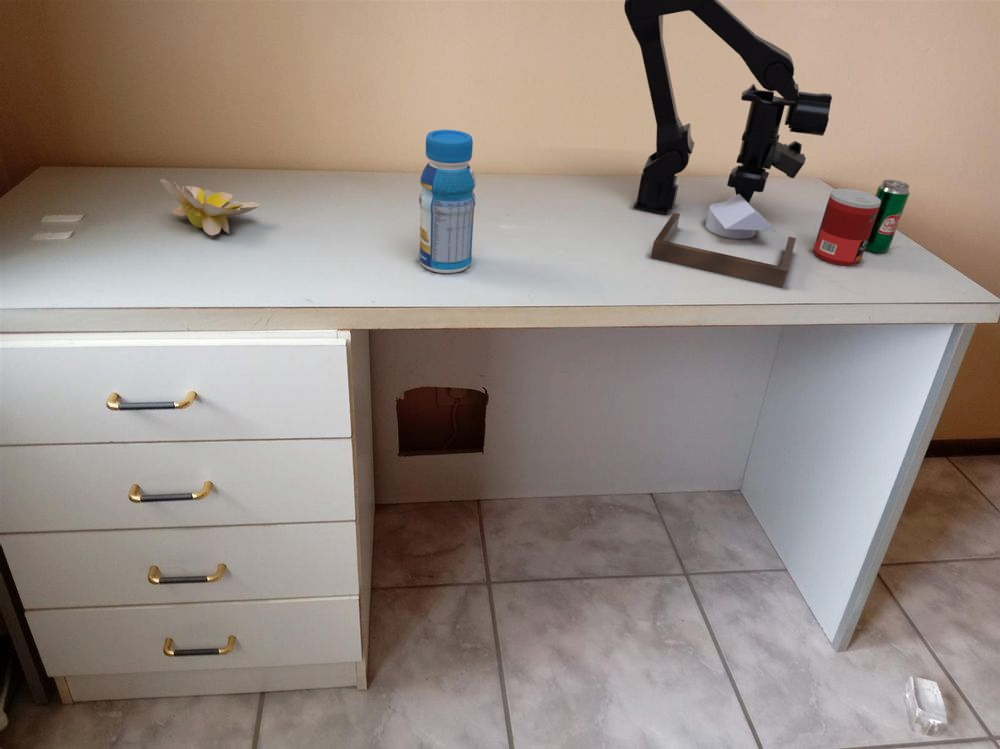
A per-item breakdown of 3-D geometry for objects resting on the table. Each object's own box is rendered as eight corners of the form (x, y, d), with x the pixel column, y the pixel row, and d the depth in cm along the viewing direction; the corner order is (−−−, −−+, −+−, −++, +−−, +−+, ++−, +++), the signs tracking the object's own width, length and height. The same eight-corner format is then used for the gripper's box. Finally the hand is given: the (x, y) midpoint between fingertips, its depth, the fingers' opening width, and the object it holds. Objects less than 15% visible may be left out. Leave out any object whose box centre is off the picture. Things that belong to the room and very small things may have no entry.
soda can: (874, 255, 137) (898, 190, 131) (852, 244, 141) (874, 180, 134) (894, 252, 139) (918, 187, 133) (871, 241, 143) (893, 177, 136)
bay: (650, 258, 129) (653, 241, 128) (670, 228, 141) (673, 212, 140) (782, 287, 123) (787, 270, 122) (791, 253, 135) (796, 237, 134)
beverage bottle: (451, 280, 117) (456, 148, 106) (407, 264, 121) (407, 135, 110) (482, 262, 124) (490, 135, 113) (439, 247, 127) (442, 123, 116)
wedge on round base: (770, 248, 137) (745, 220, 147) (780, 212, 133) (754, 186, 144) (721, 246, 136) (699, 218, 146) (730, 210, 132) (707, 184, 143)
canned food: (864, 269, 132) (886, 207, 126) (815, 262, 133) (834, 200, 127) (855, 251, 138) (876, 192, 132) (809, 245, 139) (827, 185, 133)
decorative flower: (275, 220, 127) (254, 163, 121) (216, 252, 122) (191, 194, 115) (229, 200, 136) (207, 146, 130) (171, 229, 130) (145, 174, 124)
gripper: (805, 150, 128) (781, 238, 137) (812, 121, 142) (790, 202, 151) (737, 139, 131) (717, 225, 140) (751, 112, 146) (732, 191, 154)
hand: (742, 210), depth 146 cm, fingers closed
